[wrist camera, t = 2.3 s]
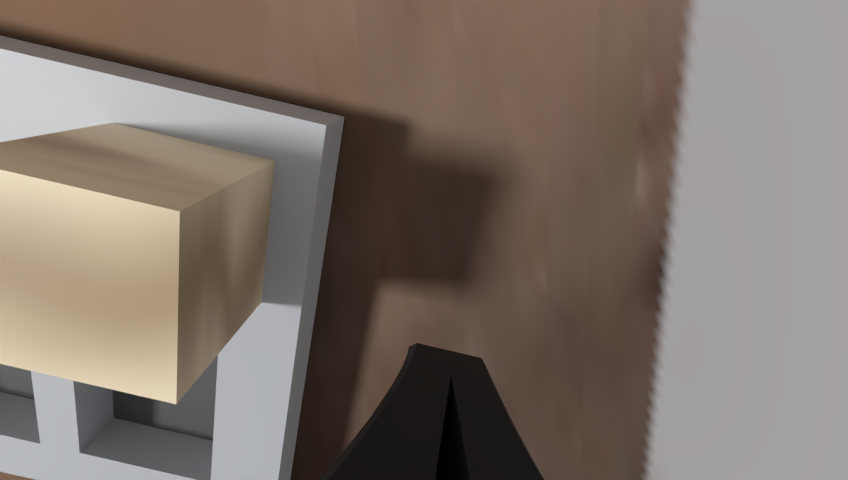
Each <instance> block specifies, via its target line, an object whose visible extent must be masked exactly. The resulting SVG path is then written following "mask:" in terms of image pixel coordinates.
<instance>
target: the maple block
mask: <svg viewBox="0 0 848 480" xmlns="http://www.w3.org/2000/svg"><path fill="white" fill-rule="evenodd" d="M274 166H275V161H274V160H270V159H265V158H261V157H257V156H253V155H248V154H244V153H240V152H236V151H231V150H227V149H223V148H219V147H214V146H210V145H206V144H202V143H197V142H193V141H189V140H185V139H180V138H176V137H172V136H168V135H163V134H159V133H155V132H151V131H146V130H142V129H138V128H134V127H129V126H125V125H121V124H117V123H107V124H101V125H96V126H90V127H84V128H79V129H73V130H67V131H62V132H56V133H50V134H45V135H39V136H33V137H28V138H22V139H16V140H11V141H5V142H0V364H4V365H8V366H12V367H17V368H21V369H25V370H30V371H34V372H38V373H43V374H47V375H51V376H56V377H60V378H64V379H69V380H73V381H77V382H82V383H86V384H90V385H95V386H99V387H103V388H108V389H112V390H116V391H121V392H125V393H129V394H134V395H138V396H142V397H147V398H151V399H155V400H160V401H164V402H168V403H173V404H177V403H178V402H179V401H180V399H181V398H182V397H183V396H184V395H185V393H186V392H187V391H188V390H189V389H190V387H191V386H192V385H193V384H194V383H195V381H196V380H197V379H198V378H199V377H200V375H201V374H202V373H203V372H204V371H205V369H206V368H207V367H208V366H209V365H210V363H211V362H212V361H213V360H214V359H215V357H216V356H217V355H218V354H219V353H220V351H221V350H222V349H223V348H224V347H225V345H226V344H227V343H228V342H229V341H230V339H231V338H232V337H233V336H234V335H235V333H236V332H237V331H238V330H239V329H240V327H241V326H242V325H243V324H244V323H245V321H246V320H247V319H248V318H249V317H250V315H251V314H252V313H253V312H254V311H255V309H256V308H257V307H258V306H259V305H260V303H261V301H262V290H263V280H264V270H265V259H266V249H267V239H268V228H269V218H270V208H271V197H272V187H273V177H274Z"/></svg>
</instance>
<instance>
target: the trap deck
mask: <svg viewBox="0 0 848 480" xmlns="http://www.w3.org/2000/svg"><path fill="white" fill-rule="evenodd" d="M107 123H117V124H121V125H125V126H129V127H134V128H138V129H142V130H146V131H151V132H155V133H159V134H163V135H168V136H172V137H176V138H180V139H185V140H189V141H193V142H197V143H202V144H206V145H210V146H214V147H219V148H223V149H227V150H231V151H236V152H240V153H244V154H248V155H253V156H257V157H261V158H265V159H270V160H274V161H275V166H274V177H273V187H272V197H271V208H270V218H269V228H268V239H267V249H266V259H265V270H264V280H263V290H262V301H261V303H260V305H259V306H258V307H257V308H256V309H255V311H254V312H253V313H252V314H251V315H250V317H249V318H248V319H247V320H246V321H245V323H244V324H243V325H242V326H241V327H240V329H239V330H238V331H237V332H236V333H235V335H234V336H233V337H232V338H231V339H230V341H229V342H228V343H227V344H226V345H225V347H224V348H223V349H222V350H221V351H220V353H219V354H218V355H217V356H216V357H215V359H214V360H213V361H212V362H211V363H210V365H209V366H208V367H207V368H206V369H205V371H204V372H203V373H202V374H201V375H200V377H199V378H198V379H197V380H196V381H195V383H194V384H193V385H192V386H191V387H190V389H189V390H188V391H187V392H186V393H185V395H184V396H183V397H182V398H181V399H180V401H179V402H178V403H177V404H173V403H168V402H164V401H160V400H155V399H151V398H147V397H142V396H138V395H134V394H129V393H125V392H121V391H116V390H112V389H108V388H103V387H99V386H95V385H90V384H86V383H82V382H77V381H73V380H69V379H64V378H60V377H56V376H51V375H47V374H43V373H38V372H34V371H30V370H25V369H21V368H17V367H12V366H8V365H4V364H0V471H1V472H5V473H9V474H14V475H18V476H22V477H27V478H31V479H35V480H290V479H291V472H292V465H293V459H294V452H295V445H296V439H297V432H298V425H299V419H300V412H301V405H302V398H303V392H304V385H305V378H306V372H307V365H308V358H309V352H310V345H311V338H312V332H313V325H314V318H315V311H316V305H317V298H318V291H319V285H320V278H321V271H322V265H323V258H324V251H325V245H326V238H327V231H328V225H329V218H330V211H331V204H332V198H333V191H334V184H335V178H336V171H337V164H338V158H339V151H340V144H341V138H342V131H343V124H344V116H340V115H335V114H331V113H327V112H323V111H318V110H314V109H310V108H306V107H301V106H297V105H293V104H289V103H284V102H280V101H276V100H272V99H268V98H263V97H259V96H255V95H251V94H246V93H242V92H238V91H234V90H229V89H225V88H221V87H217V86H212V85H208V84H204V83H200V82H195V81H191V80H187V79H183V78H179V77H174V76H170V75H166V74H162V73H157V72H153V71H149V70H145V69H140V68H136V67H132V66H128V65H123V64H119V63H115V62H111V61H106V60H102V59H98V58H94V57H90V56H85V55H81V54H77V53H73V52H68V51H64V50H60V49H56V48H51V47H47V46H43V45H39V44H34V43H30V42H26V41H22V40H17V39H13V38H9V37H5V36H1V35H0V142H5V141H11V140H16V139H22V138H28V137H33V136H39V135H45V134H50V133H56V132H62V131H67V130H73V129H79V128H84V127H90V126H96V125H101V124H107Z"/></svg>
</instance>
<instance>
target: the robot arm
mask: <svg viewBox="0 0 848 480" xmlns="http://www.w3.org/2000/svg"><path fill="white" fill-rule="evenodd" d="M320 480H544V479H543V477H542V475H541V474H540V472H539V470H538V468H537V467H536V465H535V463H534V461H533V459H532V458H531V456H530V454H529V452H528V450H527V448H526V447H525V445H524V443H523V441H522V439H521V437H520V435H519V434H518V432H517V430H516V428H515V426H514V424H513V422H512V420H511V418H510V416H509V414H508V412H507V410H506V408H505V406H504V404H503V402H502V400H501V398H500V396H499V394H498V392H497V389H496V387H495V385H494V383H493V381H492V379H491V376H490V374H489V372H488V370H487V368H486V365H485V364H484V362H483V360H482V359H481V358H478V357H474V356H470V355H465V354H461V353H457V352H453V351H448V350H444V349H440V348H435V347H431V346H427V345H423V344H418V343H416V344H414V345H412V346H410V347H409V350H408V354H407V357H406V359H405V362H404V364H403V366H402V368H401V370H400V372H399V374H398V376H397V377H396V379H395V381H394V383H393V384H392V386H391V388H390V389H389V391H388V392H387V394H386V395H385V397H384V398H383V400H382V401H381V403H380V404H379V406H378V407H377V409H376V410H375V412H374V413H373V415H372V416H371V417H370V419H369V420H368V421H367V423H366V424H365V425H364V427H363V428H362V429H361V430H360V432H359V433H358V434H357V435H356V437H355V438H354V439H353V440H352V442H351V443H350V444H349V446H348V447H347V448H346V449H345V451H344V452H343V453H342V454H341V456H340V457H339V458H338V459H337V460H336V462H335V463H334V464H333V465H332V466H331V467H330V468H329V470H328V471H327V472H326V473H325V474H324V475H323V476H322V478H321V479H320Z"/></svg>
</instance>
